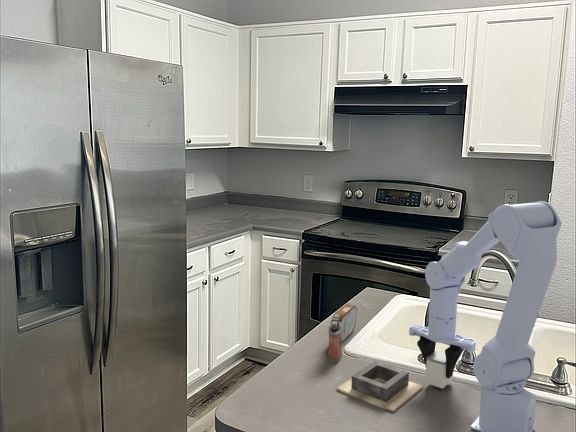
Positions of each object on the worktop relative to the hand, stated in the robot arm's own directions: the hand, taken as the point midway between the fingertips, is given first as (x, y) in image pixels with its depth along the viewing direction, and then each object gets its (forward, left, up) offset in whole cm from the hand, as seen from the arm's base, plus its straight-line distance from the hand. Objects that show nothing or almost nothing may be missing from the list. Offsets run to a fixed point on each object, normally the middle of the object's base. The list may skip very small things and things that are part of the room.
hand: (439, 373), depth 119 cm
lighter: (+26, +3, -3) cm, 26 cm away
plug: (0, 0, -2) cm, 2 cm away
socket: (+9, +10, -3) cm, 14 cm away
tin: (+31, -8, -3) cm, 32 cm away
